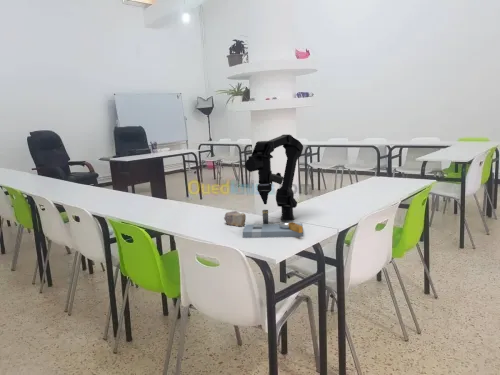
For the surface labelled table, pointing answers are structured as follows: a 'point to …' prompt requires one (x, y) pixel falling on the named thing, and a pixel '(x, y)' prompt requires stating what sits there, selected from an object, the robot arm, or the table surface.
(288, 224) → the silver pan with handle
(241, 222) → the mineral specimen
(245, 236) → the plate
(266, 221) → the pin
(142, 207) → the table surface
